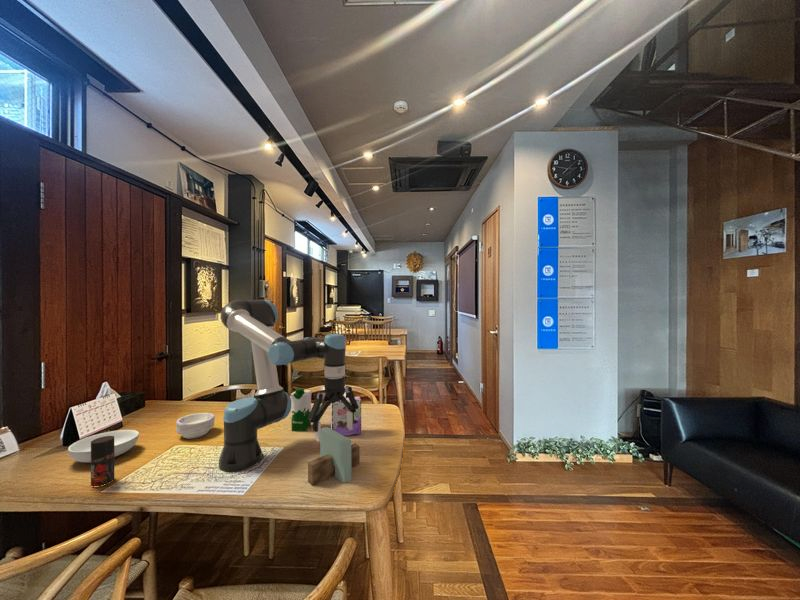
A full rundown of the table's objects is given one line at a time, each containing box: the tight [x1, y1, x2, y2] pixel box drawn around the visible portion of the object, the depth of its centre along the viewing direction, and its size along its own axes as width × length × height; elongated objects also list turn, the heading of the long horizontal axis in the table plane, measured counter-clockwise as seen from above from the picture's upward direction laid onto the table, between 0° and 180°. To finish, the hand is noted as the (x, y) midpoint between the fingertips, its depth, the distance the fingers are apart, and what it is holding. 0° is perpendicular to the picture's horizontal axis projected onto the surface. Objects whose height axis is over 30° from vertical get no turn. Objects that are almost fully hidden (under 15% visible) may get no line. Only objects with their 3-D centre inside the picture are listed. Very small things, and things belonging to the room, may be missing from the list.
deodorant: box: [90, 436, 115, 488], centre depth 108 cm, size 6×6×15 cm
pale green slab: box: [319, 426, 352, 484], centre depth 113 cm, size 3×16×14 cm, turn 44°
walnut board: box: [307, 443, 361, 486], centre depth 113 cm, size 20×3×7 cm, turn 134°
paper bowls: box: [175, 412, 215, 440], centre depth 146 cm, size 15×15×8 cm
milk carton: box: [290, 387, 313, 432], centre depth 153 cm, size 9×9×20 cm
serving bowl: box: [67, 429, 140, 463], centre depth 126 cm, size 21×21×7 cm
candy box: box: [330, 396, 362, 437], centre depth 146 cm, size 14×6×16 cm, turn 105°
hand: (334, 434), depth 113 cm, fingers open, 13 cm apart
